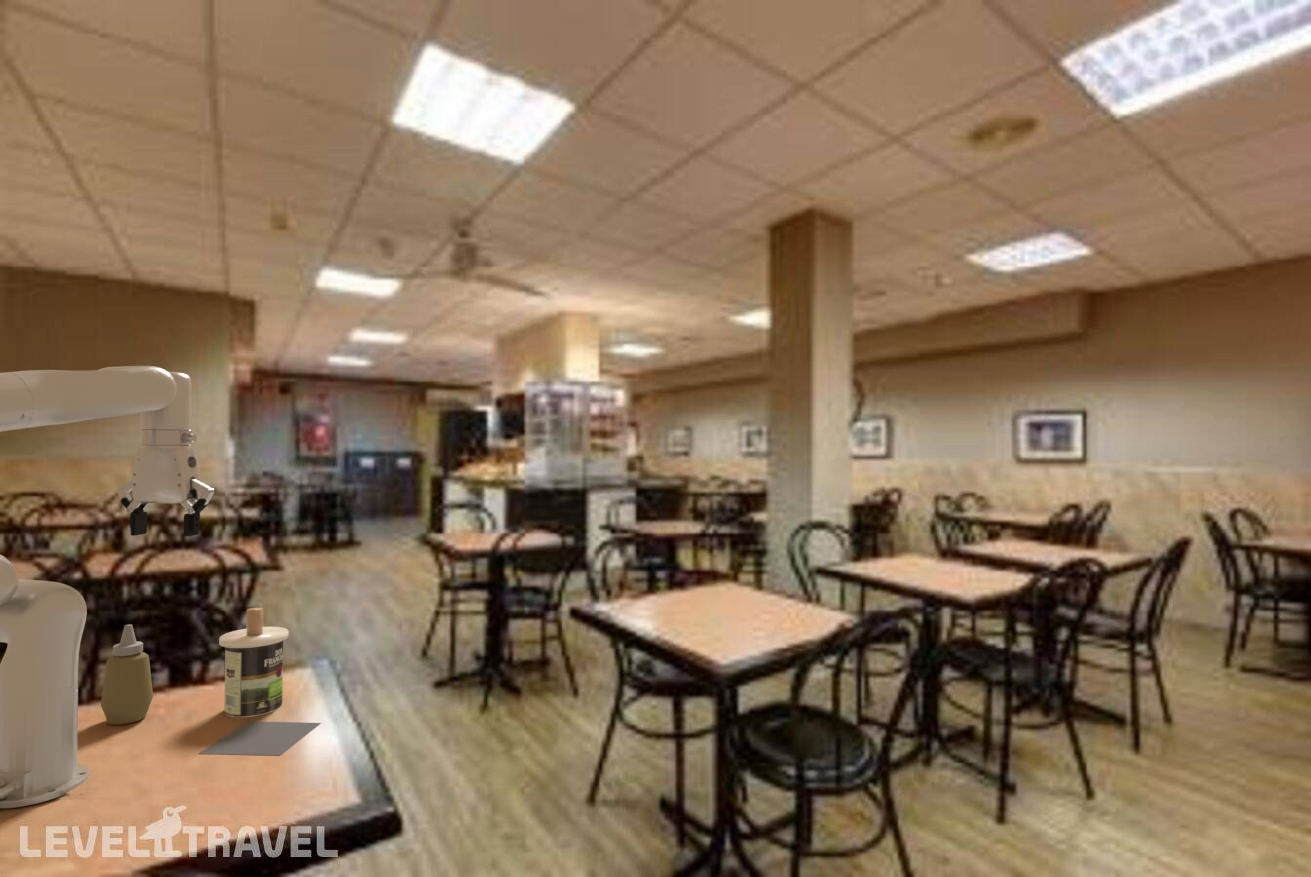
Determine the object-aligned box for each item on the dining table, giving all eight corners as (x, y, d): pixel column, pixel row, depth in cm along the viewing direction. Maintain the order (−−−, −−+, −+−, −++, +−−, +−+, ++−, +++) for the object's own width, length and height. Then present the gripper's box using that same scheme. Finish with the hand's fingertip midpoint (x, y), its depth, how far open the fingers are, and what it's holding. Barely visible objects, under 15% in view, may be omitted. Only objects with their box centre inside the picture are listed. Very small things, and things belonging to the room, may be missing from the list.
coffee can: (293, 701, 148) (294, 632, 148) (264, 721, 137) (265, 647, 137) (243, 700, 148) (244, 632, 148) (211, 720, 137) (212, 646, 138)
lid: (268, 648, 137) (268, 617, 137) (205, 648, 137) (205, 616, 137) (299, 631, 149) (300, 602, 149) (242, 631, 149) (242, 602, 149)
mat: (279, 759, 121) (279, 755, 121) (198, 757, 121) (198, 753, 121) (320, 726, 135) (321, 723, 135) (247, 724, 135) (247, 721, 135)
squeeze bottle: (160, 717, 138) (162, 624, 138) (111, 731, 132) (112, 633, 132) (141, 708, 143) (142, 618, 143) (92, 722, 136) (94, 626, 136)
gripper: (226, 440, 133) (225, 533, 133) (135, 439, 134) (133, 531, 134) (199, 440, 126) (198, 538, 126) (102, 439, 126) (101, 537, 126)
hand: (165, 535), depth 130 cm, fingers open, 9 cm apart
